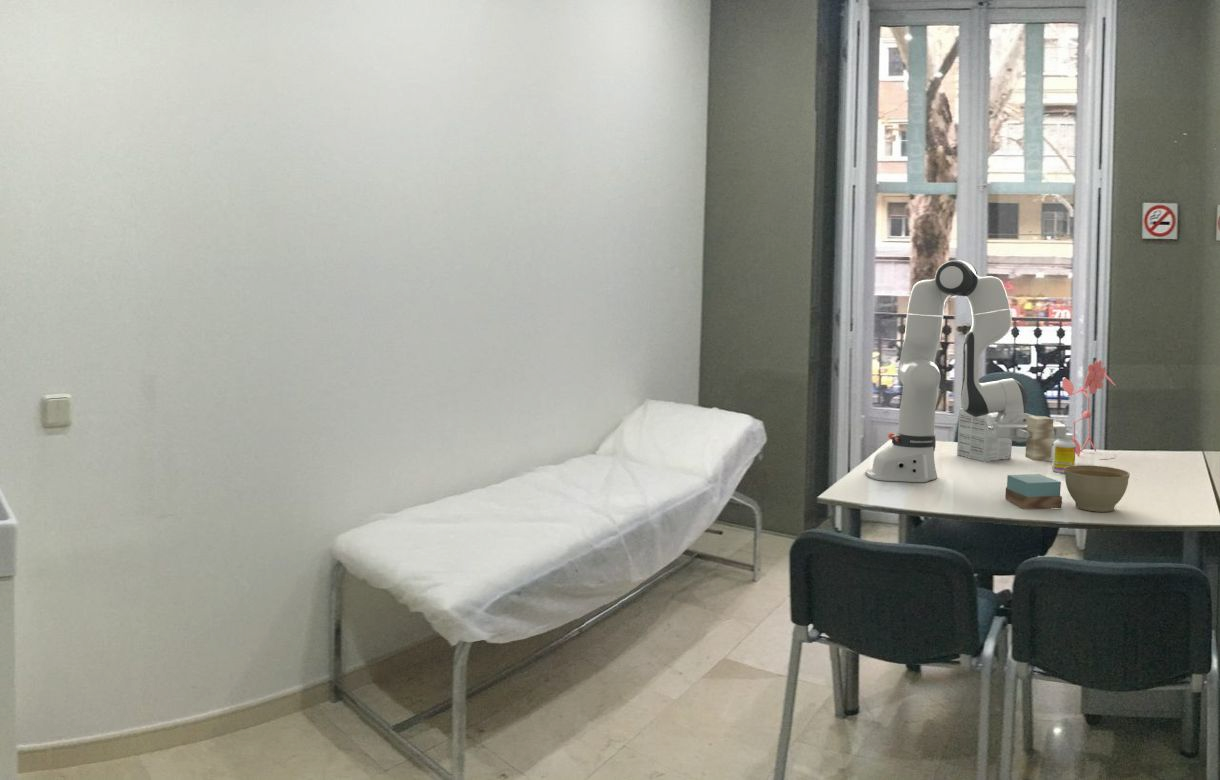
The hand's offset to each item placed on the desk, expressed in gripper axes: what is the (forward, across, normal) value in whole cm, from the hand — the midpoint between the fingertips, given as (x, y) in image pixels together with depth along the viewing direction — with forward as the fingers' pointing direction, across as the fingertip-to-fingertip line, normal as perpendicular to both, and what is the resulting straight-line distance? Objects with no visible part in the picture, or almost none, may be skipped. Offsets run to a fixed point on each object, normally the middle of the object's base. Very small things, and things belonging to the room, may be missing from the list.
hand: (1040, 435), depth 255 cm
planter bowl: (+6, +14, +20) cm, 25 cm away
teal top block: (+1, -2, +16) cm, 17 cm away
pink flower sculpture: (-68, +52, +20) cm, 88 cm away
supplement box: (-66, +12, +20) cm, 70 cm away
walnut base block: (+1, -2, +20) cm, 21 cm away
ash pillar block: (-1, 0, +7) cm, 7 cm away
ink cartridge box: (-61, +32, +20) cm, 72 cm away
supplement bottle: (-42, +28, +20) cm, 54 cm away
